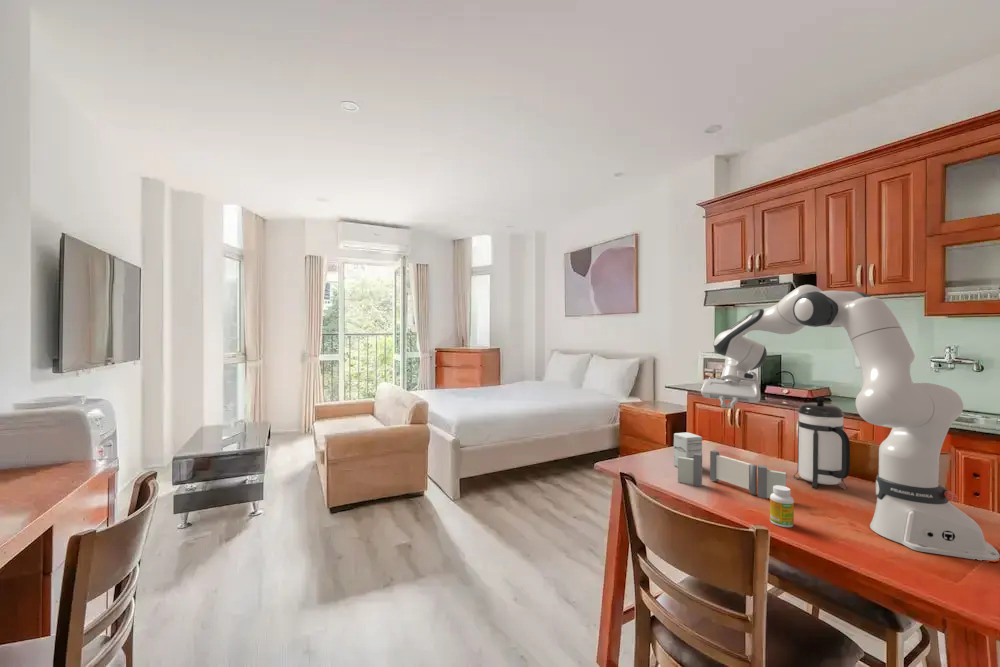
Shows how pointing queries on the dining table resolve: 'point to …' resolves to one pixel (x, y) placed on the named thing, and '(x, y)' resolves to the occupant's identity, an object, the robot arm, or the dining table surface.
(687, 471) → the fence
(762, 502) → the dining table surface
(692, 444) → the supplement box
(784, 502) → the supplement bottle
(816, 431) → the coffee press
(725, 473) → the gate
